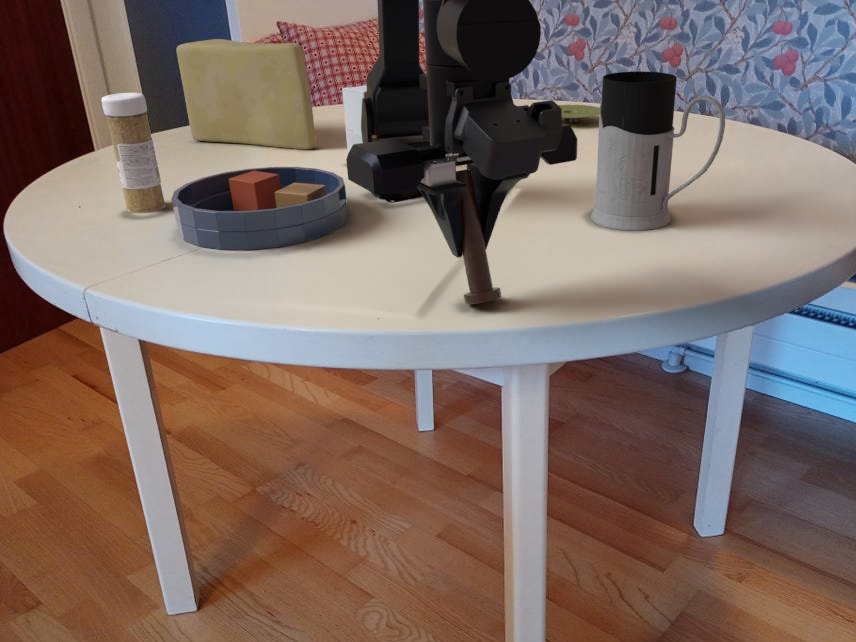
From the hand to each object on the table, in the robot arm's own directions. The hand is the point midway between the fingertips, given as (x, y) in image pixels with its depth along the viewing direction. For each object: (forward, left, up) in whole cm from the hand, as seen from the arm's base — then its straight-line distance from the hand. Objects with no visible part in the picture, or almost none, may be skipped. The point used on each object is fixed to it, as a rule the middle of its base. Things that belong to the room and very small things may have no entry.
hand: (468, 253), depth 70 cm
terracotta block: (+8, -35, -3) cm, 36 cm away
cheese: (-4, -73, -4) cm, 73 cm away
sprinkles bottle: (+19, -44, -4) cm, 48 cm away
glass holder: (-27, -7, -4) cm, 28 cm away
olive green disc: (-52, -56, -4) cm, 76 cm away
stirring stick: (0, +2, -4) cm, 4 cm away
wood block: (+6, -27, -3) cm, 27 cm away
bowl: (+9, -30, -4) cm, 32 cm away
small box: (-14, -49, -4) cm, 51 cm away
